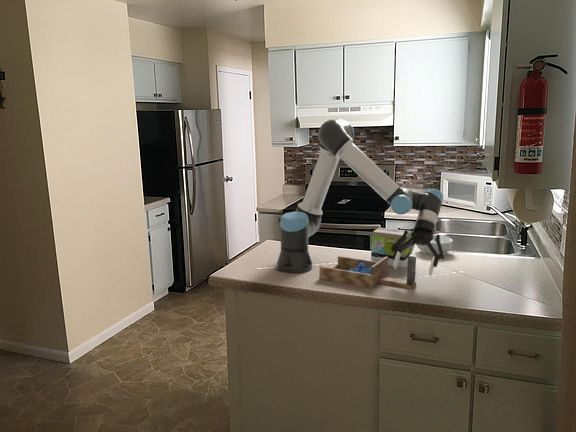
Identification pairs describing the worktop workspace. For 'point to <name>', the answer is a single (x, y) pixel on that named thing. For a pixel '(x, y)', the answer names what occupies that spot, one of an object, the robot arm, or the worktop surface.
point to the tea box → (388, 246)
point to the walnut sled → (367, 280)
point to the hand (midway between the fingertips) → (411, 270)
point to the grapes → (362, 269)
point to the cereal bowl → (445, 244)
